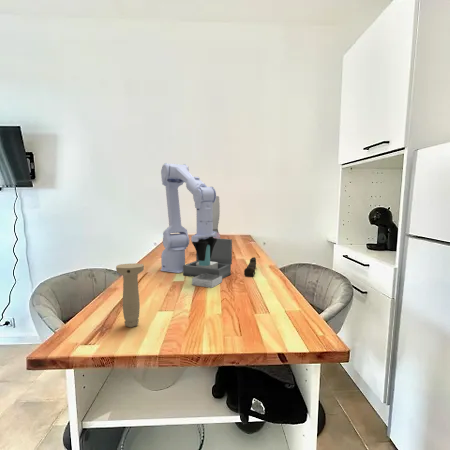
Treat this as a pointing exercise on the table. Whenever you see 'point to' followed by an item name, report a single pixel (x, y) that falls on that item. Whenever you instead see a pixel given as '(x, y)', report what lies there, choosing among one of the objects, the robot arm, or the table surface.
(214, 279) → the white square frame
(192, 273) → the case
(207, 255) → the teal cylinder
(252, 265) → the hand tool
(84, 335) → the table surface
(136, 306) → the handle
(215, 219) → the blender
